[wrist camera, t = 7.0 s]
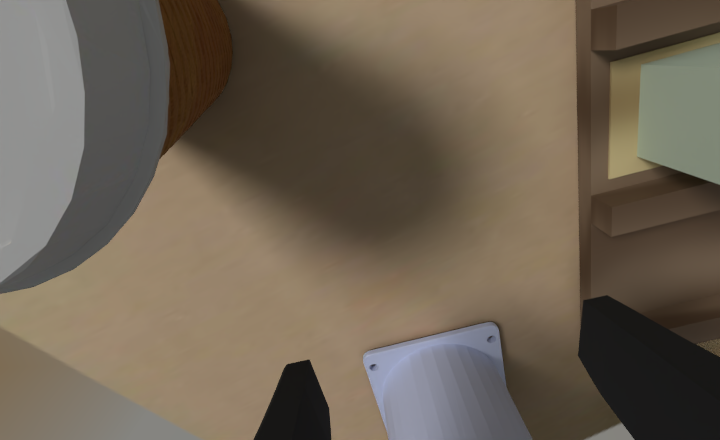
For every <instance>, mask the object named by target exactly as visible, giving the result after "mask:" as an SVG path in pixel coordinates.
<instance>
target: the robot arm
mask: <svg viewBox="0 0 720 440" xmlns="http://www.w3.org/2000/svg"><path fill="white" fill-rule="evenodd" d="M490 336H492V337H491V338H488V337H490ZM578 356H579V358H580V360H581V361H582V363H583V365H584V367H585V368H586V370H587V372H588V374H589V375H590V377H591V379H592V380H593V382H594V384H595V385H596V387H597V389H598V390H599V392H600V394H601V395H602V396H603V398H604V399H605V401H606V402H607V403H608V405H609V406H610V407H611V409H612V410H613V411H614V413H615V414H616V415H617V417H618V418H619V419H620V421H621V422H622V423H623V425H624V426H625V427H626V429H627V430H628V431H629V433H630V434H631V435H632V437H633V438H634V439H635V440H720V357H718V356H716V355H714V354H713V353H711V352H709V351H707V350H705V349H703V348H701V347H700V346H698V345H696V344H694V343H692V342H690V341H688V340H687V339H685V338H683V337H681V336H679V335H678V334H676V333H674V332H672V331H670V330H669V329H667V328H665V327H663V326H662V325H660V324H658V323H656V322H654V321H653V320H651V319H649V318H647V317H646V316H644V315H642V314H640V313H638V312H637V311H635V310H633V309H631V308H630V307H628V306H626V305H624V304H623V303H621V302H619V301H617V300H615V299H613V298H612V297H610V296H608V295H605V296H601V297H596V298H591V299H587V300H583V308H582V319H581V330H580V341H579V351H578ZM363 362H364V365H365V368H366V371H367V374H368V377H369V380H370V383H371V386H372V389H373V392H374V395H375V398H376V401H377V404H378V407H379V410H380V413H381V416H382V419H383V421H384V424H385V427H386V430H387V433H388V440H533V439H532V437H531V435H530V433H529V431H528V429H527V427H526V425H525V423H524V421H523V419H522V417H521V416H520V414H519V412H518V410H517V408H516V406H515V404H514V402H513V400H512V398H511V396H510V394H509V392H508V390H507V387H506V380H505V372H504V365H503V357H502V349H501V342H500V334H499V329H498V327H497V325H496V324H495V323H493V322H486V323H482V324H478V325H473V326H469V327H465V328H461V329H457V330H453V331H449V332H444V333H440V334H436V335H432V336H428V337H424V338H420V339H416V340H411V341H407V342H403V343H399V344H395V345H391V346H387V347H382V348H378V349H374V350H370V351H367V352H366V353H365V354H364V355H363ZM372 364H376V365H375V366H371V365H372ZM254 440H331V428H330V415H329V407H328V404H327V402H326V400H325V397H324V395H323V392H322V390H321V387H320V385H319V382H318V380H317V377H316V375H315V372H314V370H313V367H312V365H311V362H310V360H305V361H300V362H296V363H291V364H287V365H286V366H285V368H284V370H283V372H282V375H281V377H280V380H279V382H278V385H277V387H276V390H275V392H274V395H273V397H272V400H271V402H270V404H269V407H268V409H267V411H266V414H265V416H264V418H263V420H262V423H261V425H260V427H259V429H258V431H257V433H256V436H255V438H254Z"/></svg>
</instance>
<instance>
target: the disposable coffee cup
mask: <svg viewBox="0 0 720 440" xmlns="http://www.w3.org/2000/svg"><path fill="white" fill-rule="evenodd" d="M232 54H233V51H232V41H231V34H230V30H229V26H228V23H227V19H226V17H225V15H224V13H223V11H222V9H221V7H220V5H219V3H218V1H217V0H0V294H2V293H7V292H12V291H17V290H21V289H26V288H31V287H34V286H37V285H39V284H41V283H43V282H46V281H48V280H50V279H52V278H55V277H57V276H59V275H62V274H64V273H66V272H68V271H71V270H73V269H75V268H76V267H77V266H79V265H80V264H81V263H83V262H84V261H85V260H87V259H88V258H90V257H91V256H92V255H94V254H95V253H96V252H98V251H99V250H100V249H102V248H103V247H104V246H105V245H107V244H108V243H109V242H110V240H111V239H112V238H113V237H114V236H115V235H116V233H117V232H118V231H119V230H120V229H121V228H122V226H123V225H124V224H125V223H126V222H127V221H128V219H129V218H130V217H131V216H132V215H133V214H134V212H135V211H136V209H137V207H138V205H139V203H140V201H141V199H142V198H143V196H144V194H145V192H146V190H147V188H148V186H149V185H150V183H151V181H152V179H153V177H154V174H155V171H156V168H157V165H158V161H159V159H160V158H161V157H162V156H163V155H164V154H165V153H166V152H167V151H168V149H169V148H171V147H172V146H173V145H174V143H175V142H176V141H177V140H179V139H180V137H181V136H182V135H183V134H184V133H185V131H187V130H188V129H189V127H190V126H192V124H193V123H194V122H195V121H196V120H197V119H198V118H199V117H200V116H201V115H202V114H203V112H204V111H205V110H206V109H207V108H208V107H210V106H211V105H212V104H213V103H214V101H215V100H216V99H217V98H218V97H219V95H220V94H221V93H222V91H223V89H224V87H225V85H226V83H227V81H228V77H229V74H230V71H231V65H232Z"/></svg>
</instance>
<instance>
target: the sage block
mask: <svg viewBox="0 0 720 440" xmlns="http://www.w3.org/2000/svg"><path fill="white" fill-rule="evenodd" d="M637 157H640V158H643V159H646V160H649V161H652V162H655V163H657V164H660V165H663V166H666V167H669V168H672V169H675V170H678V171H681V172H684V173H687V174H690V175H693V176H695V177H698V178H701V179H704V180H707V181H710V182H713V183H716V184H719V185H720V43H717V44H713V45H710V46H706V47H702V48H699V49H695V50H692V51H688V52H684V53H681V54H677V55H674V56H670V57H667V58H663V59H659V60H656V61H652V62H649V63H645V64H641V75H640V98H639V121H638V144H637Z"/></svg>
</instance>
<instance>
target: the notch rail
mask: <svg viewBox="0 0 720 440" xmlns="http://www.w3.org/2000/svg"><path fill="white" fill-rule="evenodd" d="M717 43H720V0H576V52H577V116H578V181H579V245H580V310H581V319H582V308H583V300H587V299H591V298H596V297H601V296H605V295H608V296H610V297H612V298H613V299H615V300H617V301H619V302H621V303H623V304H624V305H626V306H628V307H630V308H631V309H633V310H635V311H637V312H638V313H640V314H642V315H644V316H646V317H647V318H649V319H651V320H653V321H654V322H656V323H658V324H660V325H662V326H663V327H665V328H667V329H669V330H670V331H672V332H674V333H676V334H678V335H679V336H681V337H683V338H685V339H687V340H688V341H690V342H692V343H694V344H697V343H701V342H705V341H710V340H714V339H718V338H720V185H719V184H716V183H713V182H710V181H707V180H704V179H701V178H698V177H695V176H693V175H690V174H687V173H684V172H681V171H678V170H675V169H672V168H669V167H666V166H663V165H660V164H657V163H655V162H652V161H649V160H646V159H643V158H640V157H637V144H638V121H639V98H640V75H641V64H645V63H649V62H652V61H656V60H659V59H663V58H667V57H670V56H674V55H677V54H681V53H684V52H688V51H692V50H695V49H699V48H702V47H706V46H710V45H713V44H717Z"/></svg>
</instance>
